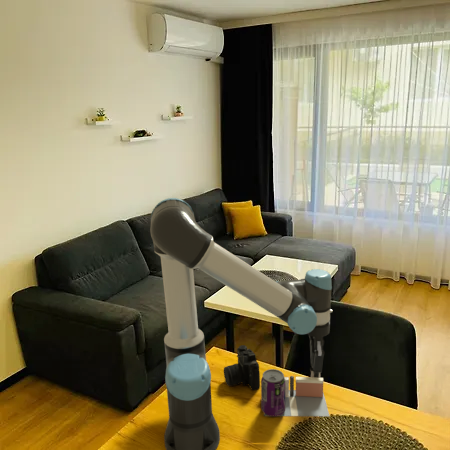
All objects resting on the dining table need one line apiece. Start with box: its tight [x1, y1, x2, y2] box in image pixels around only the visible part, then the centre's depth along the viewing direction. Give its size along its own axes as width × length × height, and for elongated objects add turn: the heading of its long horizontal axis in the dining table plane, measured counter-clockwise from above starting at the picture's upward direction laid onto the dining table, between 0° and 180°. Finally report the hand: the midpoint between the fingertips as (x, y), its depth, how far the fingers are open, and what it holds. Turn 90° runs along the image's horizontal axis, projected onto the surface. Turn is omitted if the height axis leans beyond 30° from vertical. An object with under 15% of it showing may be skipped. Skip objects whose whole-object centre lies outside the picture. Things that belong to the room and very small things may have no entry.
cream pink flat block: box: [295, 376, 324, 397], centre depth 135 cm, size 8×2×6 cm, turn 83°
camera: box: [223, 345, 261, 391], centre depth 144 cm, size 14×11×10 cm
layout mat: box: [263, 389, 330, 417], centre depth 133 cm, size 19×12×1 cm, turn 87°
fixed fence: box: [284, 375, 295, 396], centre depth 136 cm, size 9×2×6 cm, turn 87°
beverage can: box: [260, 368, 285, 417], centre depth 128 cm, size 7×7×12 cm
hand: (315, 386), depth 138 cm, fingers closed
